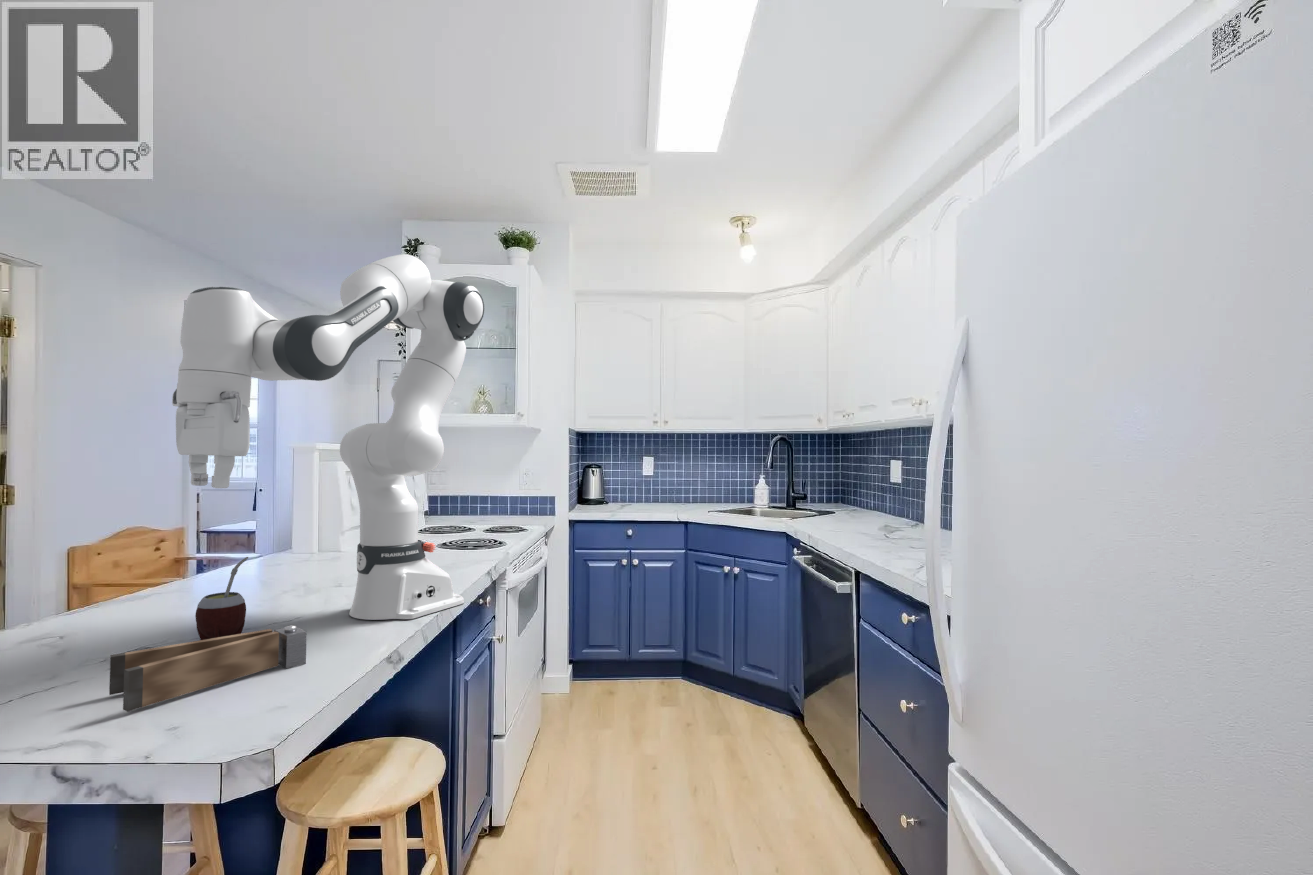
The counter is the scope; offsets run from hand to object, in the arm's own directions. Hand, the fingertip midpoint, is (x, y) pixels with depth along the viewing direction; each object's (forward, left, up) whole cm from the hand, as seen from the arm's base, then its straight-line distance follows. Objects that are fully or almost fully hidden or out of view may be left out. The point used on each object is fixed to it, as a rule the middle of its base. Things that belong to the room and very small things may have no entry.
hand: (209, 486), depth 90 cm
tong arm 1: (+1, +1, -27) cm, 27 cm away
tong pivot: (-10, +4, -28) cm, 30 cm away
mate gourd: (-7, -16, -28) cm, 33 cm away
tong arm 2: (+1, +6, -27) cm, 28 cm away
